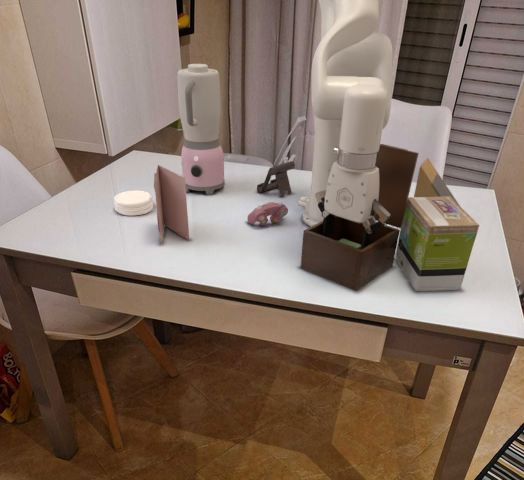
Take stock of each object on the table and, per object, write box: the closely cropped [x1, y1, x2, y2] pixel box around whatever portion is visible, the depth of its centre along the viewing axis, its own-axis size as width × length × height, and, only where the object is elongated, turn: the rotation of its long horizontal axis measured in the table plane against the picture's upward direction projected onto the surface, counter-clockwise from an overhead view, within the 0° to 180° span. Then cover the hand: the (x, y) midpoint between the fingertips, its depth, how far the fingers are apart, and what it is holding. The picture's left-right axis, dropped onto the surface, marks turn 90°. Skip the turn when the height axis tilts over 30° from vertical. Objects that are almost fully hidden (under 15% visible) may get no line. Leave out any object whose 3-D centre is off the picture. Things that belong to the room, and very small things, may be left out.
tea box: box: [394, 196, 480, 292], centre depth 103 cm, size 15×10×15 cm, turn 5°
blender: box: [176, 63, 226, 196], centre depth 137 cm, size 16×12×32 cm
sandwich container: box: [413, 157, 461, 207], centre depth 125 cm, size 9×15×15 cm, turn 64°
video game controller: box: [246, 201, 289, 226], centre depth 126 cm, size 10×5×7 cm, turn 118°
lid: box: [374, 143, 420, 229], centre depth 106 cm, size 15×15×5 cm
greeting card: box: [153, 164, 190, 245], centre depth 117 cm, size 11×7×15 cm, turn 5°
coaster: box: [113, 189, 154, 217], centre depth 133 cm, size 10×10×4 cm
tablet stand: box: [256, 160, 296, 198], centre depth 144 cm, size 9×8×8 cm
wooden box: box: [300, 216, 401, 292], centre depth 107 cm, size 15×15×9 cm
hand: (346, 241), depth 105 cm, fingers open, 9 cm apart
